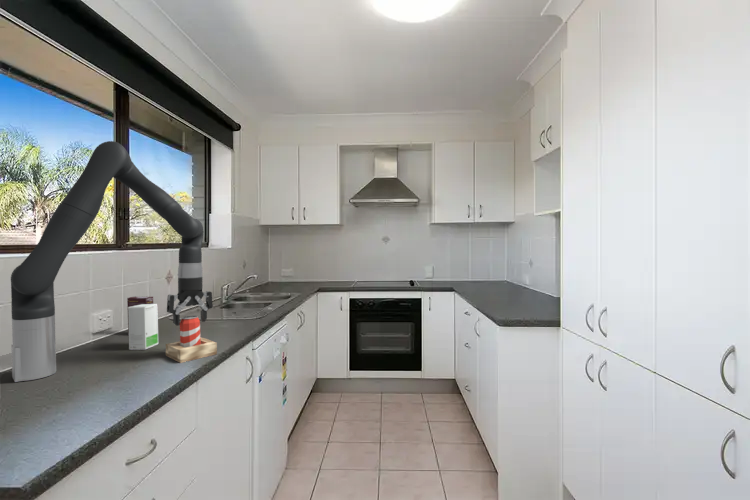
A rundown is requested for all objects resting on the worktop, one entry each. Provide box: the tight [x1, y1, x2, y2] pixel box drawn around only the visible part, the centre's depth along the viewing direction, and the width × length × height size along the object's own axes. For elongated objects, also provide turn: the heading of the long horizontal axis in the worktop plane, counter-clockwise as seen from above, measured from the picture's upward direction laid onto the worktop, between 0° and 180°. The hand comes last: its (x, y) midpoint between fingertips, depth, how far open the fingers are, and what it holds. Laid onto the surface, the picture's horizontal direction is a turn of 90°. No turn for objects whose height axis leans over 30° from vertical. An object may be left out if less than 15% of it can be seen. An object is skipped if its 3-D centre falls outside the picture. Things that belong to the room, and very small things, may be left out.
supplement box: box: [126, 296, 154, 336], centre depth 156 cm, size 9×5×16 cm, turn 84°
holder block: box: [165, 336, 218, 364], centre depth 127 cm, size 12×12×4 cm
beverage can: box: [179, 315, 201, 348], centre depth 127 cm, size 6×6×12 cm
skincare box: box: [127, 303, 159, 351], centre depth 137 cm, size 8×7×16 cm
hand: (190, 323), depth 127 cm, fingers open, 8 cm apart
